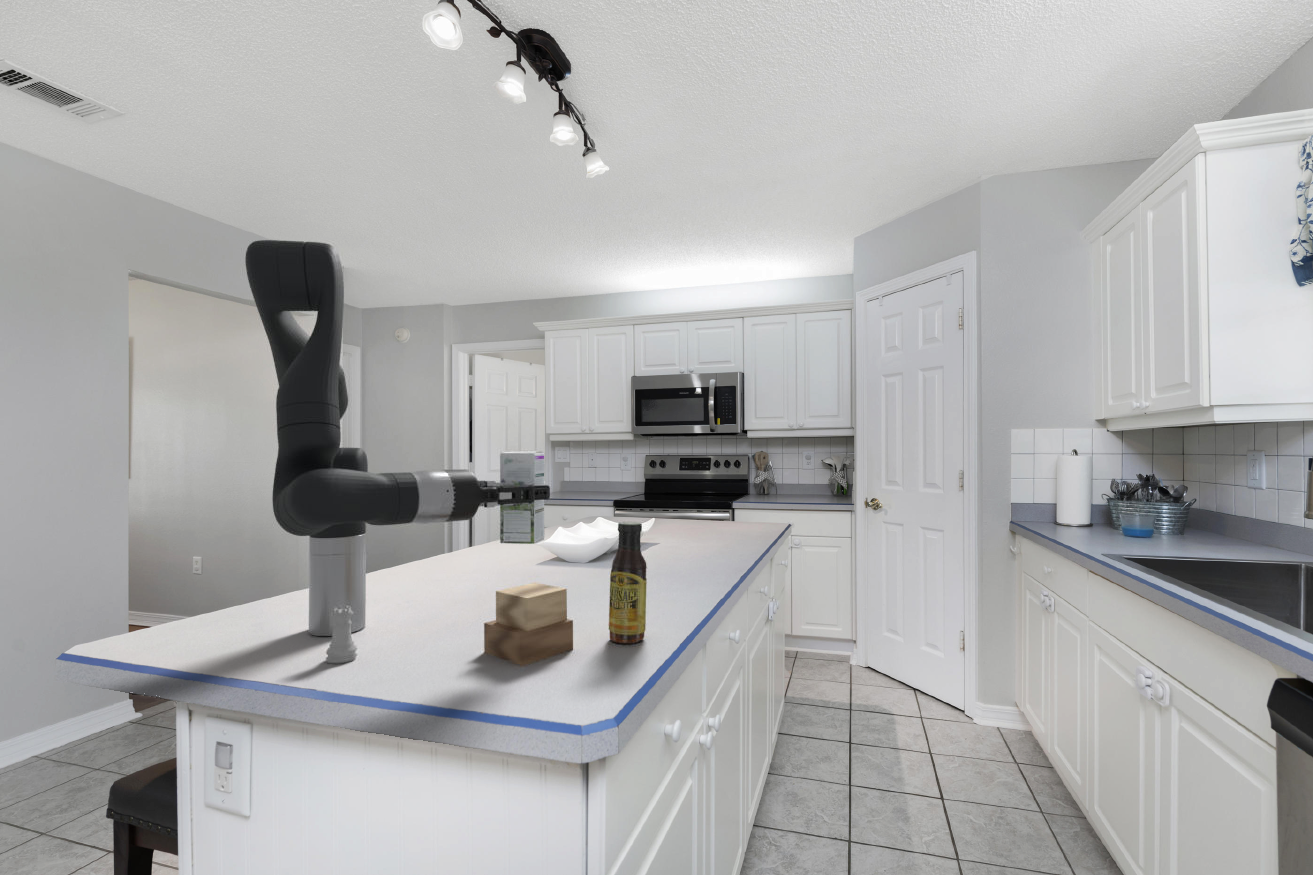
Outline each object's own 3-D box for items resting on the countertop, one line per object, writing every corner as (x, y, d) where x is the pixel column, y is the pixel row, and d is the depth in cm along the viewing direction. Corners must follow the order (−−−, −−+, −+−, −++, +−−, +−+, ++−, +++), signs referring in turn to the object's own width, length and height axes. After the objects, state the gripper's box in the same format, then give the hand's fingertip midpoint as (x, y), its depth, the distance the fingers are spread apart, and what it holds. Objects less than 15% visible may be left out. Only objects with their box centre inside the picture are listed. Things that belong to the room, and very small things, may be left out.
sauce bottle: (602, 643, 102) (601, 523, 102) (618, 632, 107) (617, 519, 108) (638, 647, 99) (637, 525, 100) (653, 636, 105) (651, 521, 105)
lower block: (484, 654, 98) (484, 622, 98) (534, 639, 105) (534, 610, 105) (522, 668, 91) (522, 634, 91) (573, 651, 99) (572, 620, 99)
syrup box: (545, 539, 100) (545, 451, 100) (534, 544, 94) (534, 450, 95) (511, 539, 101) (512, 451, 101) (498, 544, 95) (499, 451, 95)
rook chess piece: (325, 666, 92) (325, 613, 92) (325, 657, 96) (325, 606, 96) (358, 661, 94) (358, 609, 94) (357, 653, 98) (357, 603, 98)
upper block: (496, 622, 98) (495, 591, 98) (535, 612, 104) (535, 582, 104) (527, 631, 93) (527, 598, 93) (566, 619, 99) (566, 588, 99)
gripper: (464, 470, 82) (560, 468, 94) (415, 469, 92) (508, 467, 104) (464, 526, 82) (560, 517, 94) (415, 519, 92) (507, 511, 104)
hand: (532, 491), depth 99 cm, fingers closed on syrup box, 8 cm apart
